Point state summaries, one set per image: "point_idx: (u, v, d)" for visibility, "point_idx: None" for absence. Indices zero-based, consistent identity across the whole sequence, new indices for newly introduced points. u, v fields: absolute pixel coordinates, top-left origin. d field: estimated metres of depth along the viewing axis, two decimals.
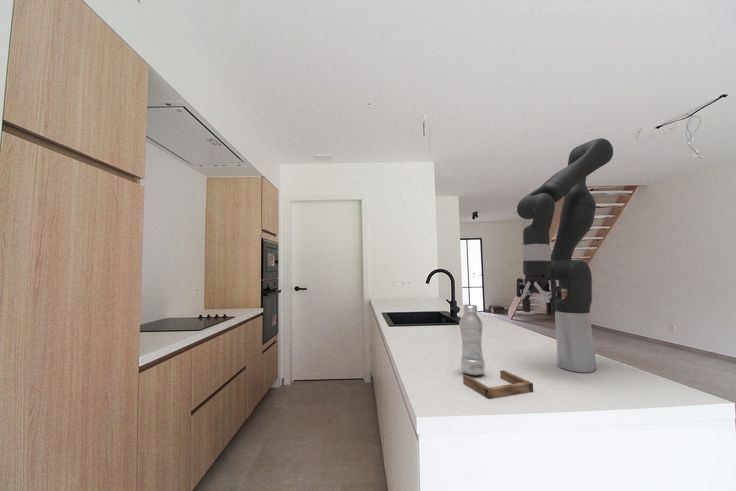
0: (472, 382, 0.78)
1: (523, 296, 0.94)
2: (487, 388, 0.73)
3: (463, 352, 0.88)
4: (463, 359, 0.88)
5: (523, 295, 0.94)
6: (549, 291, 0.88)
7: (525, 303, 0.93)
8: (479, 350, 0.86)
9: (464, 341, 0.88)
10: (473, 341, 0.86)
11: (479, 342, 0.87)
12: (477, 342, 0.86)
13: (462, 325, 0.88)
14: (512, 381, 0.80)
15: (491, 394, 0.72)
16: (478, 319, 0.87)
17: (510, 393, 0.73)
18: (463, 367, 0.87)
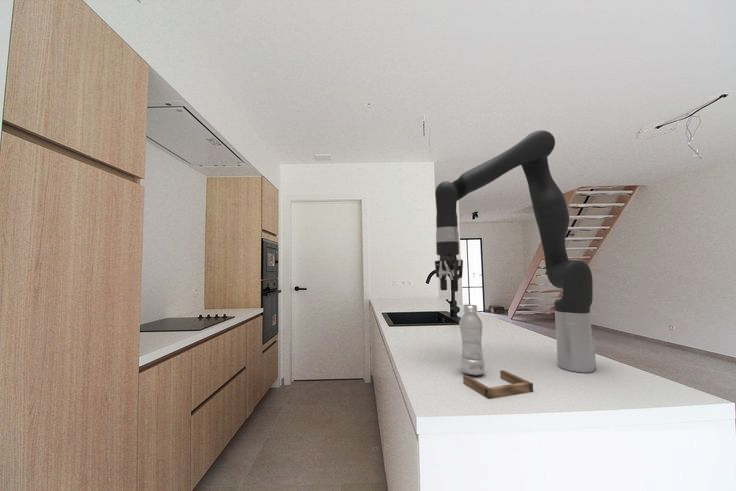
0: (472, 382, 0.78)
1: (440, 276, 1.04)
2: (487, 388, 0.73)
3: (463, 352, 0.88)
4: (463, 359, 0.88)
5: (440, 275, 1.04)
6: None
7: (442, 282, 1.03)
8: (479, 350, 0.86)
9: (464, 341, 0.88)
10: (473, 341, 0.86)
11: (479, 342, 0.87)
12: (477, 342, 0.86)
13: (462, 325, 0.88)
14: (512, 381, 0.80)
15: (491, 394, 0.72)
16: (478, 319, 0.87)
17: (510, 393, 0.73)
18: (463, 367, 0.87)
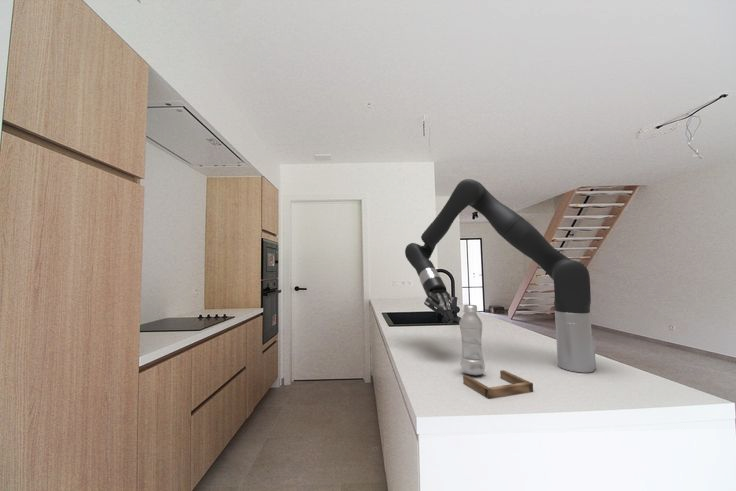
0: (472, 382, 0.78)
1: None
2: (487, 388, 0.73)
3: (463, 352, 0.88)
4: (463, 359, 0.88)
5: None
6: None
7: None
8: (479, 350, 0.86)
9: (464, 341, 0.88)
10: (473, 341, 0.86)
11: (479, 342, 0.87)
12: (477, 342, 0.86)
13: (462, 325, 0.88)
14: (512, 381, 0.80)
15: (491, 394, 0.72)
16: (478, 319, 0.87)
17: (510, 393, 0.73)
18: (463, 367, 0.87)
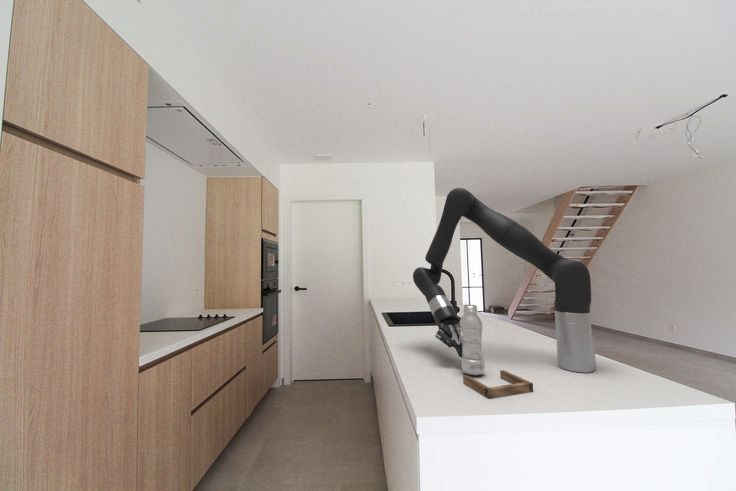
0: (472, 382, 0.78)
1: None
2: (487, 388, 0.73)
3: (463, 352, 0.88)
4: (463, 359, 0.88)
5: None
6: None
7: None
8: (479, 350, 0.86)
9: (464, 341, 0.88)
10: (473, 341, 0.86)
11: (479, 342, 0.87)
12: (477, 342, 0.86)
13: (462, 325, 0.88)
14: (512, 381, 0.80)
15: (491, 394, 0.72)
16: (478, 319, 0.87)
17: (510, 393, 0.73)
18: (463, 367, 0.87)
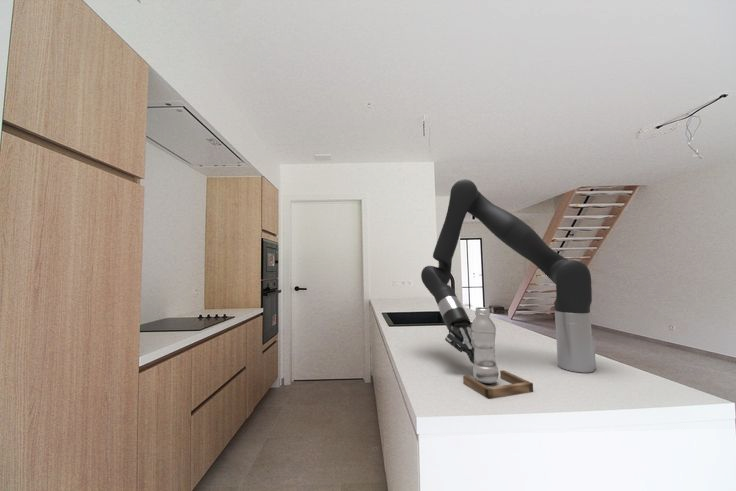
0: (472, 382, 0.78)
1: None
2: (487, 388, 0.73)
3: (475, 358, 0.82)
4: (475, 366, 0.82)
5: None
6: None
7: None
8: (492, 356, 0.80)
9: (476, 346, 0.82)
10: (486, 346, 0.80)
11: (492, 348, 0.80)
12: (490, 348, 0.80)
13: (474, 329, 0.82)
14: (512, 381, 0.80)
15: (491, 394, 0.72)
16: (491, 323, 0.81)
17: (510, 393, 0.73)
18: (475, 374, 0.81)
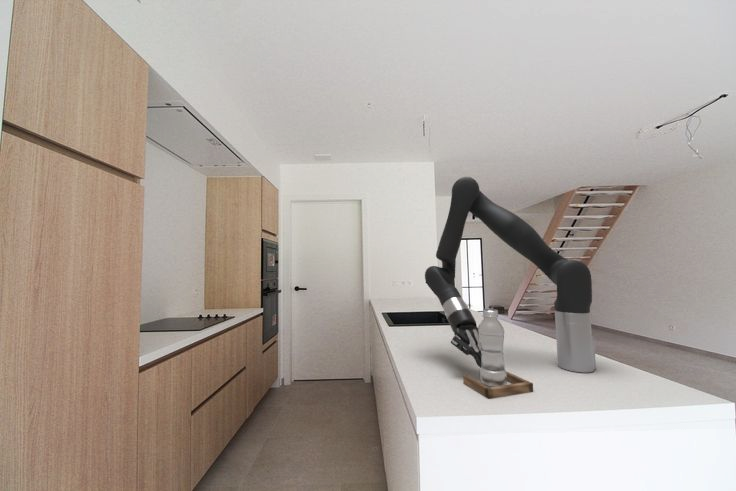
0: (472, 382, 0.78)
1: None
2: (487, 388, 0.73)
3: (482, 362, 0.79)
4: (482, 370, 0.78)
5: None
6: None
7: None
8: (501, 360, 0.77)
9: (484, 350, 0.78)
10: (494, 349, 0.77)
11: (501, 351, 0.77)
12: (499, 351, 0.77)
13: (482, 332, 0.79)
14: (512, 381, 0.80)
15: (491, 394, 0.72)
16: (499, 325, 0.78)
17: (510, 393, 0.73)
18: (483, 379, 0.78)
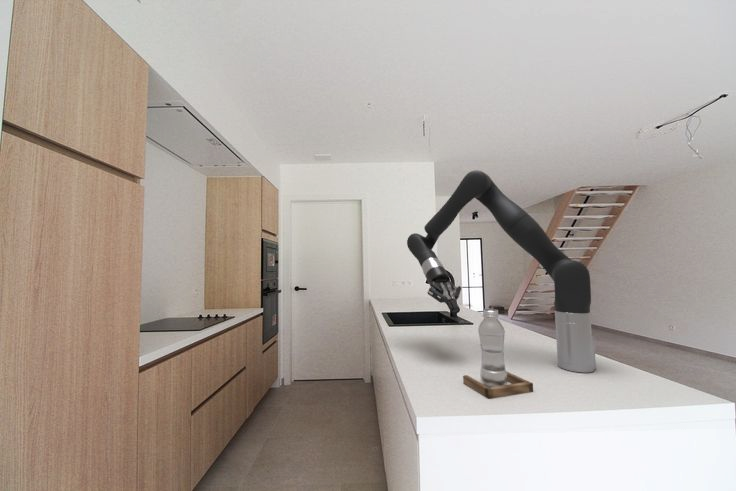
0: (472, 382, 0.78)
1: None
2: (487, 388, 0.73)
3: (483, 362, 0.79)
4: (483, 370, 0.78)
5: None
6: None
7: None
8: (501, 360, 0.77)
9: (484, 350, 0.78)
10: (494, 349, 0.77)
11: (501, 351, 0.77)
12: (499, 351, 0.77)
13: (482, 332, 0.78)
14: (512, 381, 0.80)
15: (491, 394, 0.72)
16: (500, 325, 0.78)
17: (510, 393, 0.73)
18: (483, 379, 0.78)
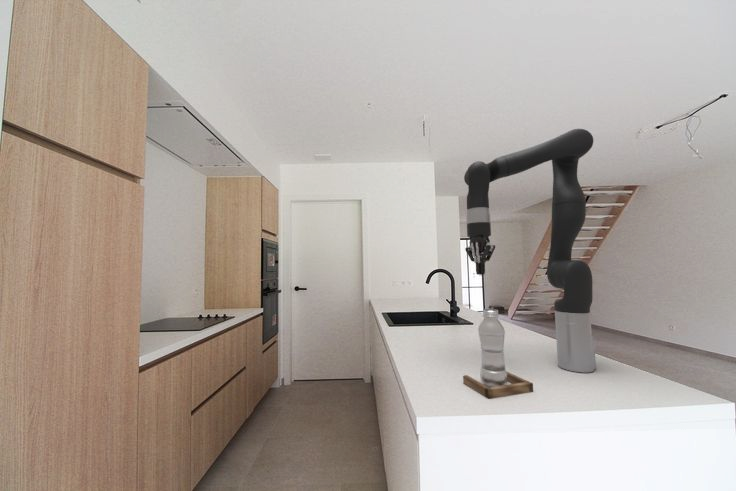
0: (472, 382, 0.78)
1: (476, 260, 0.99)
2: (487, 388, 0.73)
3: (483, 362, 0.79)
4: (483, 370, 0.78)
5: (475, 258, 1.00)
6: None
7: None
8: (501, 360, 0.77)
9: (484, 350, 0.78)
10: (494, 349, 0.77)
11: (501, 351, 0.77)
12: (499, 351, 0.77)
13: (482, 332, 0.78)
14: (512, 381, 0.80)
15: (491, 394, 0.72)
16: (500, 325, 0.78)
17: (510, 393, 0.73)
18: (483, 379, 0.78)
